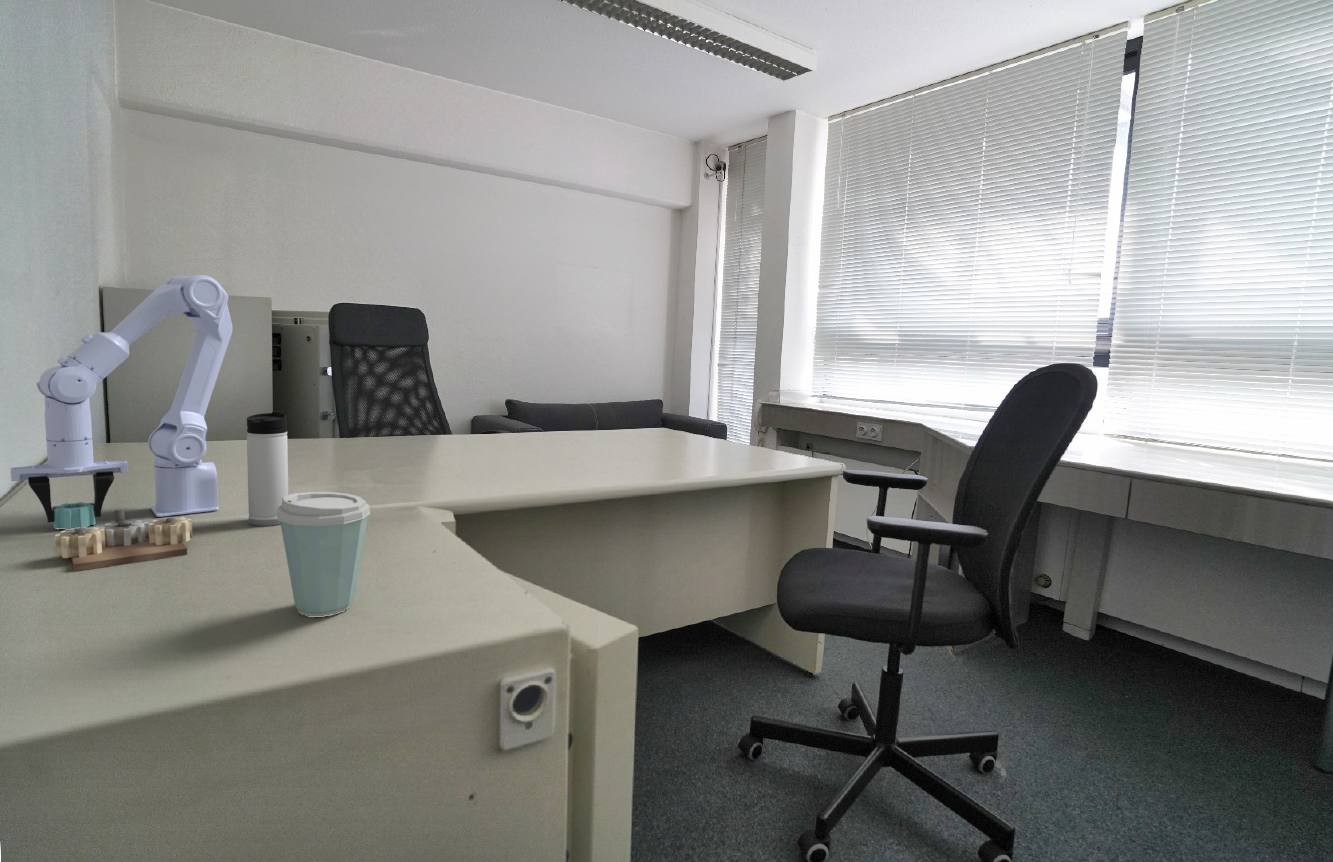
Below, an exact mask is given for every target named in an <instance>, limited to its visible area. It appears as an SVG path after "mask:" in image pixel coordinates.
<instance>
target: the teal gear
mask: <svg viewBox="0 0 1333 862" xmlns="http://www.w3.org/2000/svg"><path fill="white" fill-rule="evenodd" d="M52 511H53V518H54V522H52V524H53V526H54V527H53V529H54V528H65V529H71V528H76V527H77V528H78V527H80V528H83V527H87V525H95V524H96V525H97V523H96V521H97V520H96V518H97V517H95V505H94V502H83V501H80V502H79V501H78V502H74V503H73V502H71V503H67V502H66V503H62V504H60V505H54V506H53V507H52ZM96 525H95V526H96ZM87 528H88V527H87Z"/></svg>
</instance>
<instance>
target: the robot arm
mask: <svg viewBox="0 0 1333 862" xmlns="http://www.w3.org/2000/svg"><path fill="white" fill-rule="evenodd" d="M229 297H230V296H229V295H228V293H227V292H226V291H225V289H224V288H223V286H222V285H221V284H220V282H218V281H217V280H216V279H215V278H213V277H211V276H209V275H205V274H199V275H189V276H188V275H175V276H173V277H171V278H170V279H168V281H167V282H166V283H165V284H161V285H160V286H158V287H156V289H154V291H152V292H151V293H150V294H149V295H148V296H147V297H146V298H145V299H144V300H143V301H141V303H139V304H138V305H137V306H136V307H135V308H134V309H133V310H132V311H131V312H130V313H129V314H128V315H127V316H125V318H124V319H122V320H121V321H120V322H119V323H118V324H117V325H116V326H115V327H114V328H113V329H112V330H111V331H109V332H103V331H102V332H99V331H98V332H95V333H94V334H93V335H88V334H85V335H84V336H83V337H82V338H81V339H80V341H81V342H82V344H81V345H79V346H78V347H77V348H76V349H74V350H73V351H72V352H71V353H70V354H68V355H67V357H64V356H61V357H59V358H58V359H57V363H58V364H59V366H55V367H53V366H52V367H50V368H47V369H46V370H45V371H43V372H42V374H41V375H40V377H39V381H38V382H36V387H37V389H38V391H39V392H40V394H41V395H43V397H44V406H45V407H44V408H45V409H44V410H45V411H44V422H45V423H44V424H45V425H44V426H45V439H46V454H47V458H46V459H47V463H45V464H37V465H28V466H19V467H18V466H16V467H15V466H14V467H10V468H9V469H10V479H11V480H10V481H11V482H21V481H25V480H26V481H28V486H29V487H30V489H31V490H32V492H33V493H34V494H35V495H36V497H37V499H38V500H39V501H40V503H41V505H42V507H43V509H44V510H43V511H45V516H46V519H47V523H53V522H54V518H53V511H52V497H51V496H52V495H51V484H50V479H53V478H66V477H67V478H68V477H79V476H90V475H91V476H92V479H93V482H92V483H93V492H94V493H93V495H94V498H93V499H94V500H93V501H94V502H93V503H94V505H95V518H100V517H101V516H102V508H103V505H104V501H105V499H106V497H107V494H108V492H109V489H110V487H111V486H112V484H113V482H114V480H115V475H114V474H127V473H129V471H128V469H129V468H128V467H129V466H128V465H129V464H128V461H127V460H104V461H103V460H98V461H97V460H96V461H94V448H93V447H94V443H93V425H92V411H91V407H90V406H91V404H90V398H91V397H93V396H94V394H95V393H96V390H97V384H98V383H101V382H102V381H103V380H105V378H107V376H109V375H110V374H111V373H113V371H114V370H115V369H117V368H118V367H119V366H120V365H121V364H123V362H125V360H127V359H128V358H129V357H130V345H132V344H133V343H134V342H136V340H138V339H139V338H140V337H142V336H143V335H144V334H145V333H147V332H148V331H149V330H150V329H151V328H154V326H156V325H157V324H158V323H159V322H161V321H162V320H163V319H165V317H166V316H170V315H177V314H181V313H182V314H184V315H185V316H186V317H187V319H189V321H190V322H191V324H192V325H193V327H195V329H196V334H195V337H194V339H193V342H192V346H191V348H190V352H189V355H188V357H187V359H186V363H185V366H184V369H183V372H182V374H181V378H180V382H179V384H178V387H177V389H176V393H175V395H174V398H173V402H172V405H171V407H170V409H169V410H168V412H167V413H166V414H164V416H163V417H162V418H161V419H160V423H159V425H158V426H157V428H156V429H154V431H152V432H151V433H150V435H149V437H148V441H147V446H148V449H149V451H150V453H152V454H153V455H154V456H155V459H154V462H153V470H154V471H153V473H154V475H153V476H154V497H155V504H152V505H150V506H149V507H150V510H151V511H152V512H153V513H154V515H155V516H156V517H158V518H160V517H171V516H178V515H188V514H195V513H204V512H206V513H207V512H214V511H218V510H220V509H219V508H220V507H219V499H218V497H219V496H218V494H219V493H218V474H217V468H216V465H215V463H214V462H211V461H210V462H203V460H202V459H203V458H204V457H205V455H206V454H207V448H208V445H207V441H206V436H207V431H208V425H207V423H206V420H205V416H206V412H207V409H208V407H209V404H210V401H211V397H212V394H213V391H214V388H215V385H216V382H217V379H218V376H219V373H220V370H221V367H222V364H223V361H224V358H225V355H226V352H227V349H228V346H229V342H230V340H231V337H232V334H233V330H234V329H233V328H234V327H233V326H234V325H233V323H232V318H231V313H230V310H229V306H228V301H229Z"/></svg>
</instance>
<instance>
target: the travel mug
mask: <svg viewBox="0 0 1333 862" xmlns="http://www.w3.org/2000/svg"><path fill="white" fill-rule="evenodd" d="M287 418H288V417H287V415H286V414H285V413H284V411H271V412H266V413H265V412H264V413H258V414H257V413H256V414H253V415H249V416H248V417H246V427H247V428H246V451H247V453H246V455H247V459H246V460H247V493H248V495H247V498H248V503H247V504H248V523H249V524H250V525H252V526H256V527H257V526H258V527H270V526H279V525H281V523H280V520H278V518H277V516H276V514H277V508H278V507H279V506H281V505H282V497H285V496H287V495H289V472H288V471H289V465H288V463H289V462H288V460H289V456H288V453H289V452H288V451H289V449H288V428H287V426H288V422H287V421H288V420H287Z"/></svg>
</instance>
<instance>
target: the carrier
mask: <svg viewBox="0 0 1333 862" xmlns="http://www.w3.org/2000/svg"><path fill="white" fill-rule="evenodd" d="M114 521H115V522H112V523H110V522H109V523H105V524H103V526H102V527H98V526H97V527H95V526H91V527H87V528H75V529H74V530H69V531H65V530H62V531H59V533H57V534H55V537H54V538H55V550H56V552H55V553H56V557H60V556H61V558H63V559H69V558H70V560H71V563H72V567H73V570H74V572H78V571H79V570H80V571H87V570H92V568H94V569H101V568H105V567H106V568H107V567H113V566H120V564H121V565H126V564H133V563H134V564H135V563H141V562H146V561H152V560H153V561H154V560H159V559H167V558H168V559H169V558H173V557H180V556H188V547H187V546H186V545H185V544H184V543H185V542H186V543H187V542H189V541H190V540H191V539H192V538H193V523H192V521H193V520H192V519H191V518H186V516H185V517H183V516H180V517H171V516H169V517H164V518H163V519H155V520H152V521H151V523H149V522H148V521H145V522H143V520H139V519H137V520H131V519H130V520H129V519H125V509H121V508H120V509H115V510H114ZM80 571H79V572H80Z"/></svg>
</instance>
